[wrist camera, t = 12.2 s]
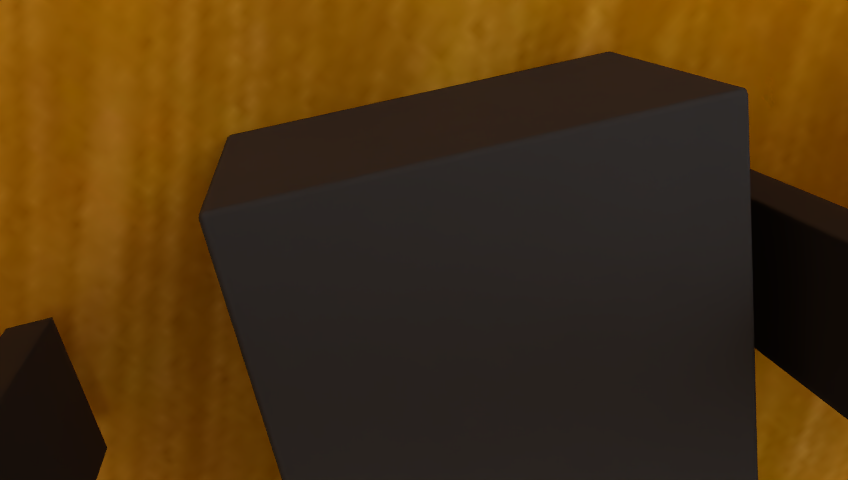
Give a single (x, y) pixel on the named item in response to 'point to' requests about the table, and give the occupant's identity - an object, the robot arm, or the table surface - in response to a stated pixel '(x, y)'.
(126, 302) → the table surface
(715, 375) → the tab pad
